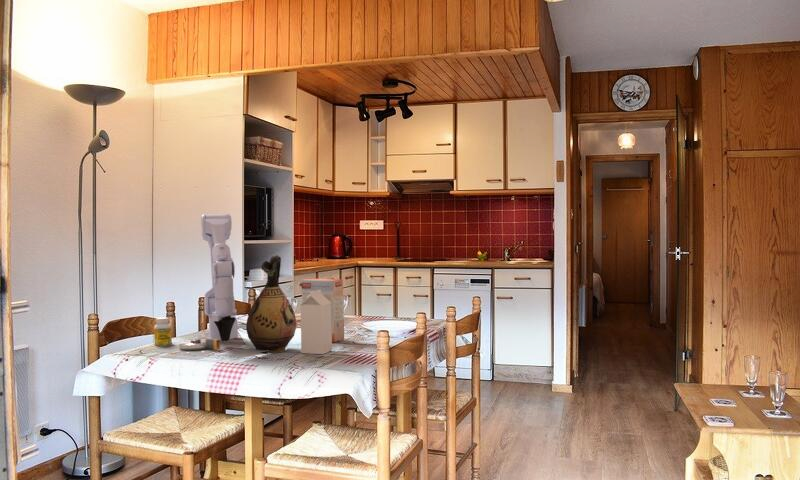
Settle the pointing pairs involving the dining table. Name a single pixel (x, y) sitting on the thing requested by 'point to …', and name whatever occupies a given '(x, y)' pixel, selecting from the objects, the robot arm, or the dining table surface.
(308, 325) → the milk carton
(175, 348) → the board
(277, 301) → the ceramic jug
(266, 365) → the dining table surface
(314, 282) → the cracker box
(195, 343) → the dial
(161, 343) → the supplement bottle
